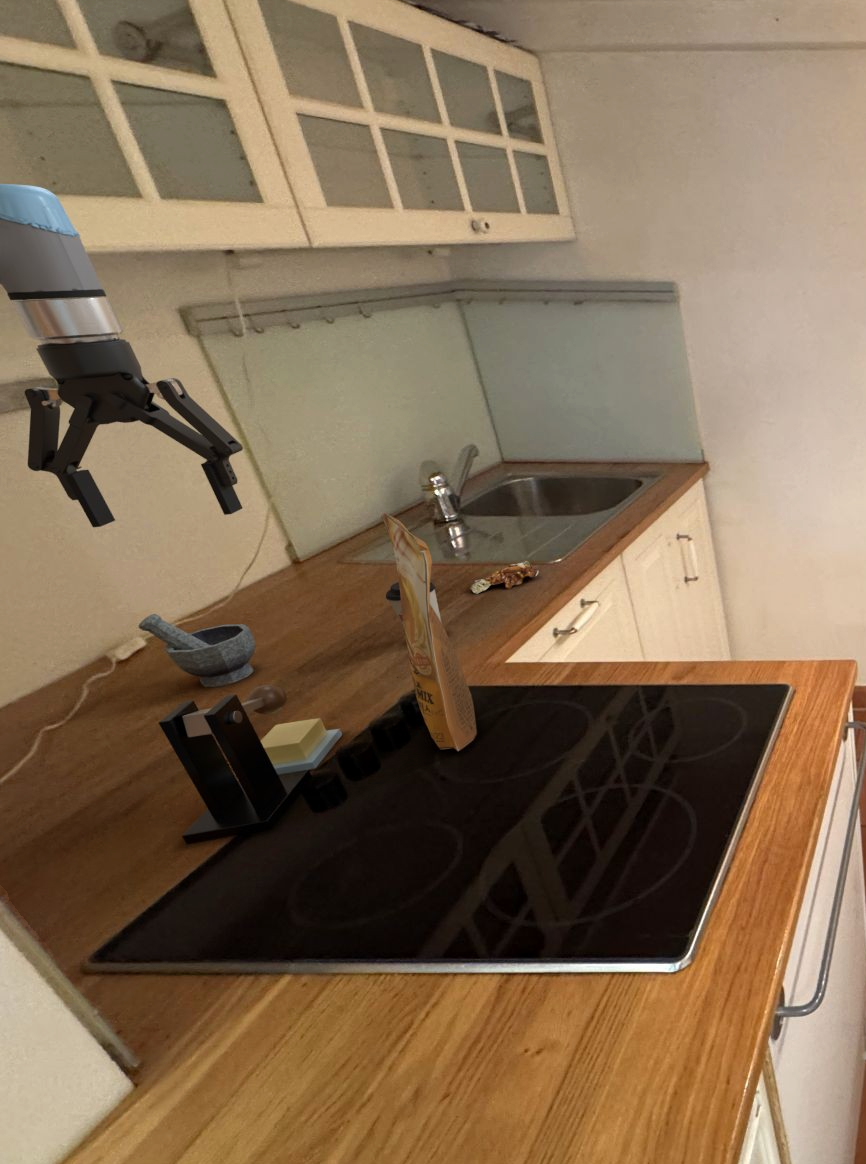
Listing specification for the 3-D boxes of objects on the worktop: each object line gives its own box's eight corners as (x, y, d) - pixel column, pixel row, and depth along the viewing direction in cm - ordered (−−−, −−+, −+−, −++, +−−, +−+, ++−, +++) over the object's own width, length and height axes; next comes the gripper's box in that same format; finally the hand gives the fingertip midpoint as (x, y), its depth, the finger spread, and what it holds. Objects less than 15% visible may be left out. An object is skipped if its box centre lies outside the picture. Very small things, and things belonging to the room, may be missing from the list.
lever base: (236, 790, 93) (182, 691, 87) (312, 777, 94) (265, 680, 88) (186, 844, 84) (122, 739, 78) (271, 829, 86) (215, 725, 80)
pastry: (466, 588, 149) (460, 571, 148) (530, 570, 157) (525, 554, 156) (479, 597, 145) (473, 580, 143) (544, 578, 153) (539, 561, 151)
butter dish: (249, 779, 94) (237, 756, 93) (281, 744, 101) (270, 721, 100) (315, 768, 96) (304, 745, 94) (342, 734, 103) (332, 712, 101)
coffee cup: (411, 633, 131) (390, 579, 127) (456, 626, 133) (437, 573, 129) (398, 650, 125) (375, 594, 121) (445, 643, 127) (425, 588, 123)
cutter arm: (263, 712, 96) (255, 684, 95) (296, 707, 97) (289, 680, 96) (181, 744, 82) (172, 712, 82) (221, 738, 83) (212, 706, 83)
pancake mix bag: (474, 688, 113) (409, 505, 101) (498, 744, 100) (426, 540, 87) (421, 703, 110) (347, 516, 97) (438, 764, 96) (354, 554, 84)
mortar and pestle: (270, 656, 125) (238, 589, 120) (266, 678, 118) (231, 608, 113) (178, 678, 119) (140, 608, 114) (168, 702, 112) (126, 629, 107)
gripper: (228, 331, 94) (298, 498, 103) (-29, 343, 88) (70, 520, 97) (191, 335, 87) (270, 514, 97) (-89, 349, 81) (23, 538, 91)
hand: (170, 518), depth 97 cm, fingers open, 13 cm apart
